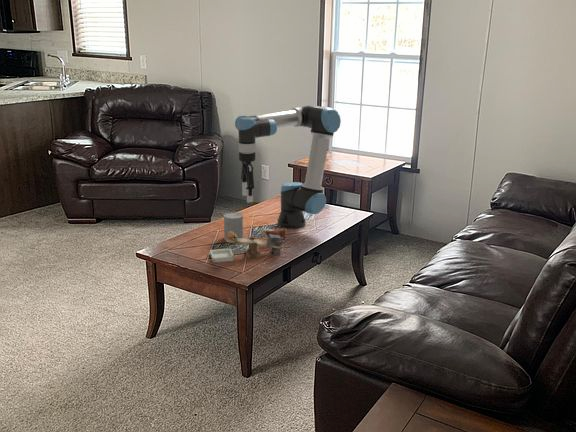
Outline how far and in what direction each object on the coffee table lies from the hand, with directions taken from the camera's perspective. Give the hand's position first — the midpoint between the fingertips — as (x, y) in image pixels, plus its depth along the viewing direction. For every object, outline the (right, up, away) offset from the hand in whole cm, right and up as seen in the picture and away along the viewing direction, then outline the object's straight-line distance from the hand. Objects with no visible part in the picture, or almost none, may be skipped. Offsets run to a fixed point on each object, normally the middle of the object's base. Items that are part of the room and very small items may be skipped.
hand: (247, 198), depth 273 cm
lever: (+2, -20, +1) cm, 21 cm away
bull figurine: (+12, -22, +17) cm, 30 cm away
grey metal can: (-9, -20, +23) cm, 31 cm away
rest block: (+13, -25, +6) cm, 29 cm away
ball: (-8, -17, -3) cm, 19 cm away
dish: (-12, -27, -1) cm, 30 cm away
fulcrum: (+2, -26, +3) cm, 26 cm away
